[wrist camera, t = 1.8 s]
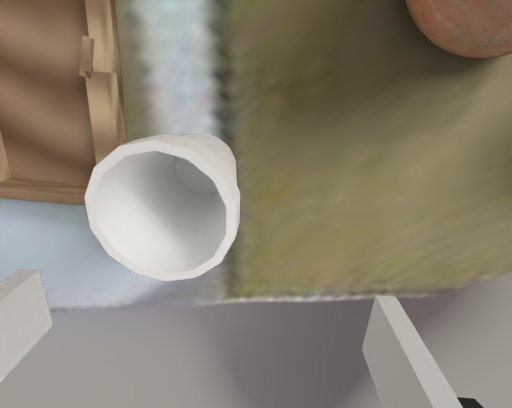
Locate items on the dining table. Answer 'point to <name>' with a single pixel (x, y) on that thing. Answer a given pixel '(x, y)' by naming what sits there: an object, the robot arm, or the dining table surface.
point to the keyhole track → (57, 96)
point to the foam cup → (166, 204)
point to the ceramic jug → (466, 25)
